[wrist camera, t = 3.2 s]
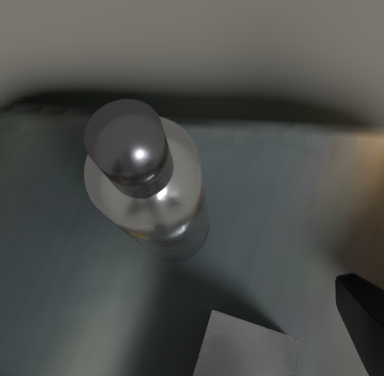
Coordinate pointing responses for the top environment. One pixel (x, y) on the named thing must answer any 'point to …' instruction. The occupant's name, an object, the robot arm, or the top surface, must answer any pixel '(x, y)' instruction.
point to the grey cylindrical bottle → (146, 178)
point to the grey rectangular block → (245, 349)
